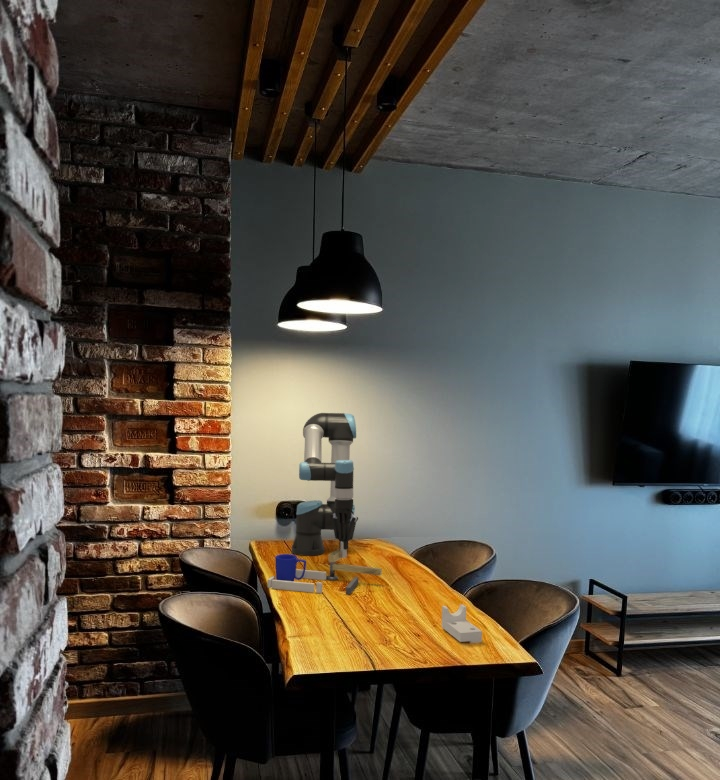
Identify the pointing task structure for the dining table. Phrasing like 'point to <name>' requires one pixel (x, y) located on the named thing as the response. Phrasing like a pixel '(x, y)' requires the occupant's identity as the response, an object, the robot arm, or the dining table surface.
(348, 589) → the kerb
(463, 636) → the bracket
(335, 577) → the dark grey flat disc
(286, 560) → the mug
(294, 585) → the beige rectangular bars
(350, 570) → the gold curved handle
